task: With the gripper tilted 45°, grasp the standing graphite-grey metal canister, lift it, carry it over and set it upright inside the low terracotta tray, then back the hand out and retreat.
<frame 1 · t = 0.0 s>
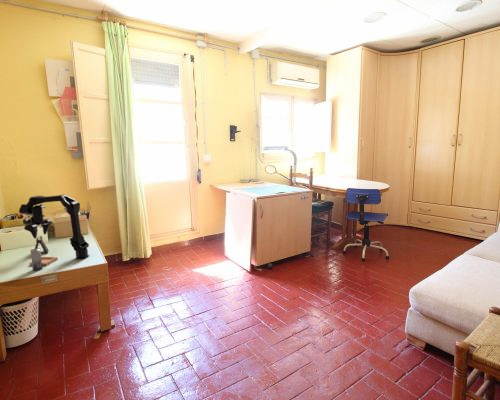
hand: (40, 236, 203), 15 cm above the table, tool pointing down, fingers open, 9 cm apart
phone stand: (41, 253, 212), on the table
tray: (44, 262, 196), on the table
canister: (37, 269, 185), on the table
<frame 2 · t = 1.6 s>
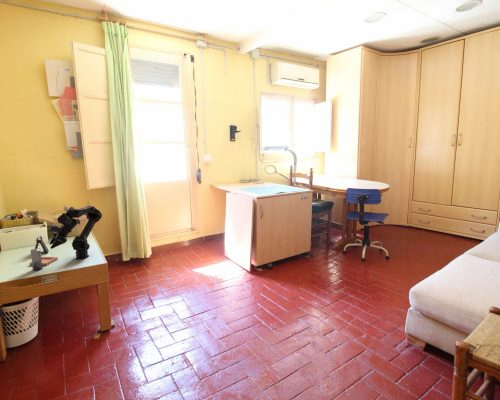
hand: (50, 246, 187), 13 cm above the table, tool tilted 45°, fingers open, 9 cm apart
nothing on the table moved.
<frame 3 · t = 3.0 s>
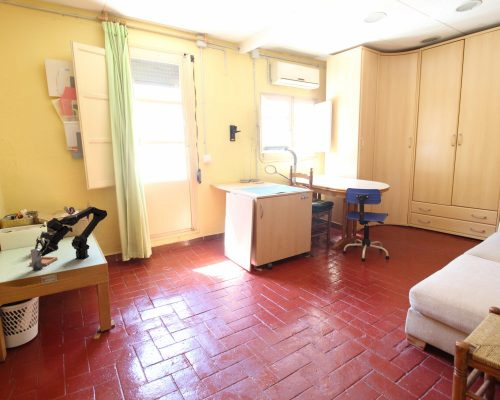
hand: (41, 253, 184), 10 cm above the table, tool tilted 45°, fingers open, 9 cm apart
nothing on the table moved.
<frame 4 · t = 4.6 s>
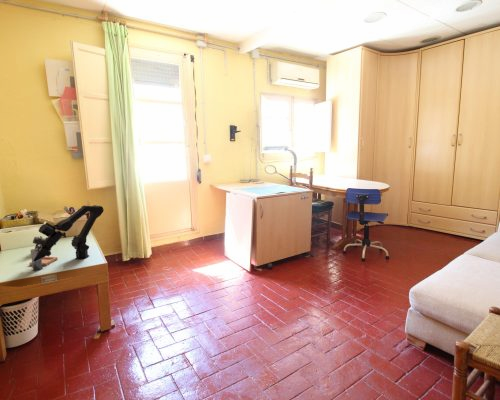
hand: (33, 259, 183), 7 cm above the table, tool tilted 45°, fingers closed on canister, 5 cm apart
canister: (37, 269, 185), on the table, touching gripper
everything else where it was.
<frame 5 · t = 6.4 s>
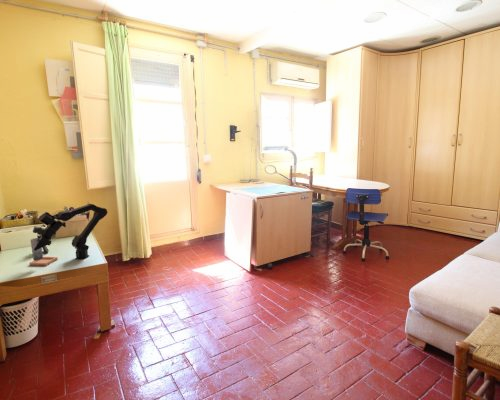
hand: (34, 249, 183), 13 cm above the table, tool tilted 45°, fingers closed on canister, 5 cm apart
canister: (38, 258, 185), point 6 cm above the table, touching gripper
everything else where it was.
when the fingers open (9 cm above the table, at t = 8.5 s): canister drops 1 cm, resting on tray.
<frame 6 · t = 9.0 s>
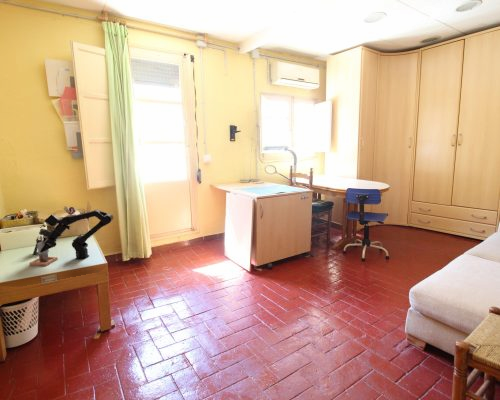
hand: (40, 250, 193), 9 cm above the table, tool tilted 45°, fingers open, 9 cm apart
canister: (44, 261, 196), point 1 cm above the table, touching tray
everything else where it was.
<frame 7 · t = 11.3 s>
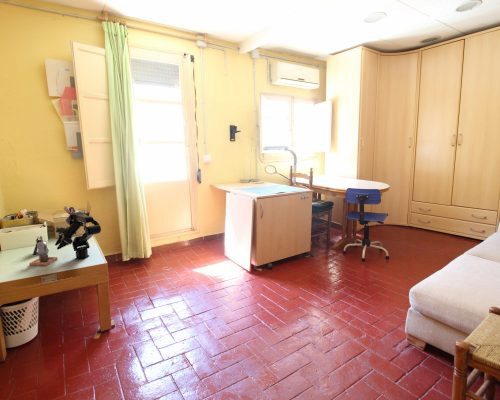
hand: (56, 247, 199), 9 cm above the table, tool tilted 45°, fingers open, 9 cm apart
nothing on the table moved.
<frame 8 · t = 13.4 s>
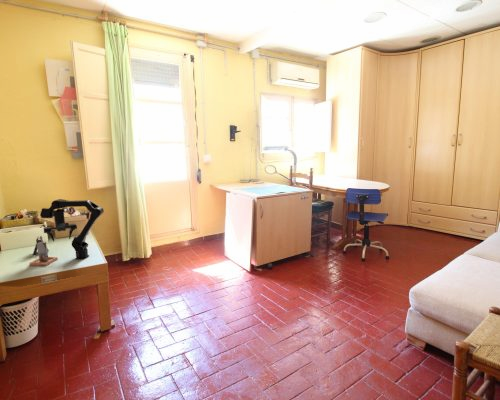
hand: (61, 240, 201), 13 cm above the table, tool pointing down, fingers open, 9 cm apart
nothing on the table moved.
at the end: canister 0.1 cm off-centre on the tray, point 0.7 cm above the tray's base; canister tilted 1°; the gripper is holding nothing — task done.
